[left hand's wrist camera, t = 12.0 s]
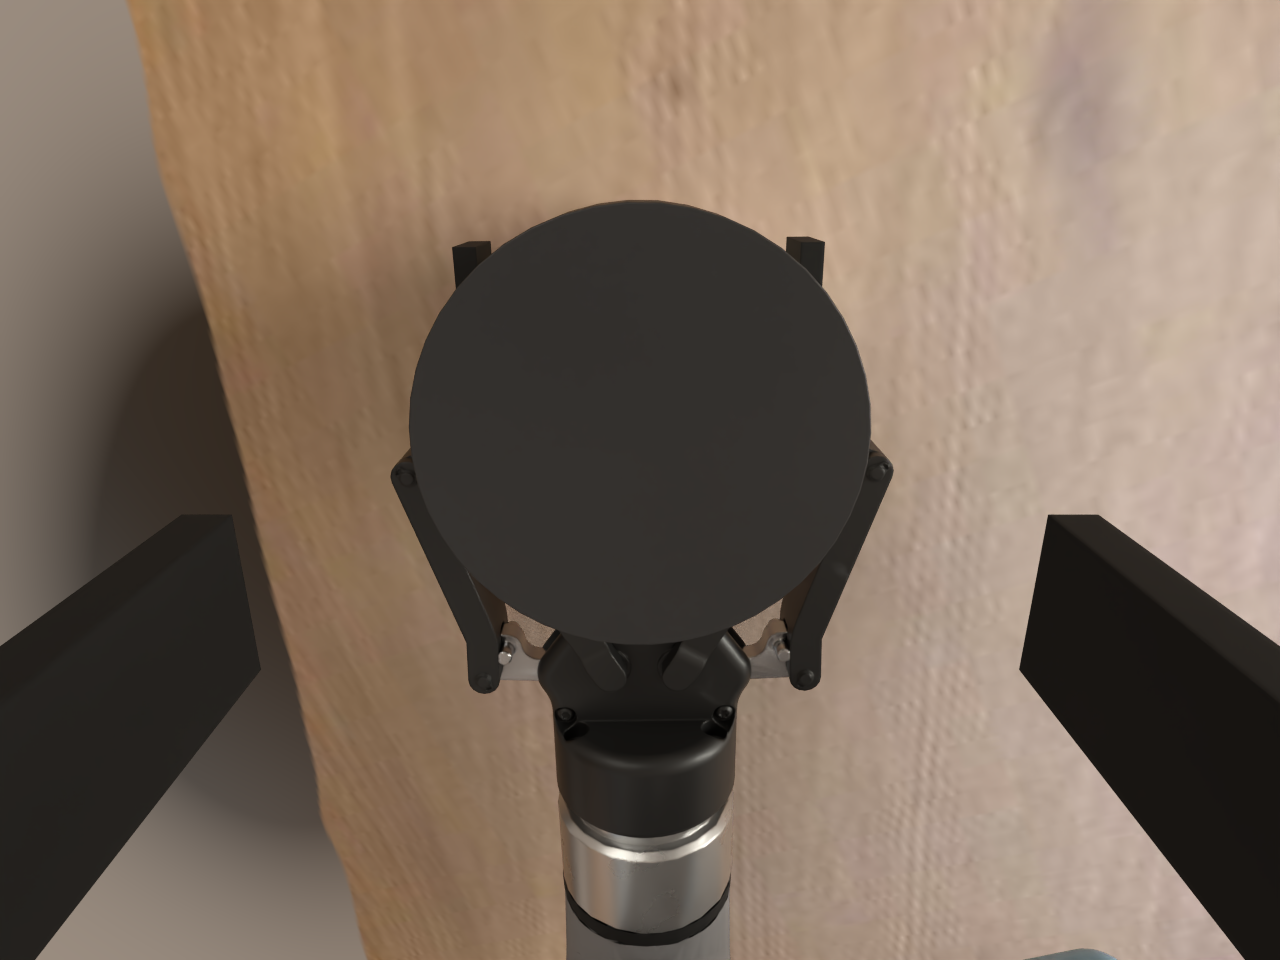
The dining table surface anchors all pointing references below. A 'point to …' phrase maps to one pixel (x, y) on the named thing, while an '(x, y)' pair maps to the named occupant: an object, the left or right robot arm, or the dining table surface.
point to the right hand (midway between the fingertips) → (638, 241)
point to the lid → (640, 423)
